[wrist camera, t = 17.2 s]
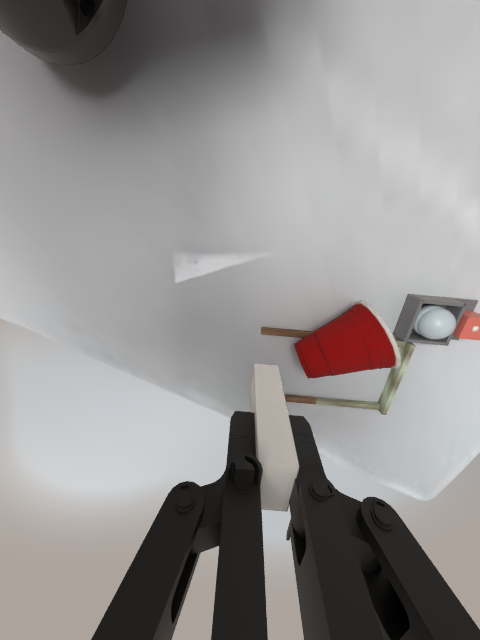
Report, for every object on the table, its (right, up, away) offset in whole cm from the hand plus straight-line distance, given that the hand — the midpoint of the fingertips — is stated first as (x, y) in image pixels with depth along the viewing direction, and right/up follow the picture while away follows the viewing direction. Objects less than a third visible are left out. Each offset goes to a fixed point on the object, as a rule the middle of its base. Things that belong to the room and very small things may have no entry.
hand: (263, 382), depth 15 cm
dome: (+28, +5, +23) cm, 37 cm away
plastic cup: (+8, -2, +22) cm, 23 cm away
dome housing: (+31, +4, +24) cm, 39 cm away
